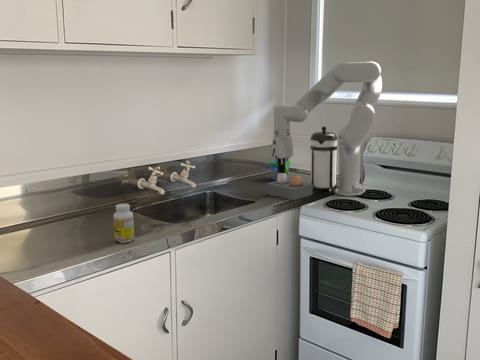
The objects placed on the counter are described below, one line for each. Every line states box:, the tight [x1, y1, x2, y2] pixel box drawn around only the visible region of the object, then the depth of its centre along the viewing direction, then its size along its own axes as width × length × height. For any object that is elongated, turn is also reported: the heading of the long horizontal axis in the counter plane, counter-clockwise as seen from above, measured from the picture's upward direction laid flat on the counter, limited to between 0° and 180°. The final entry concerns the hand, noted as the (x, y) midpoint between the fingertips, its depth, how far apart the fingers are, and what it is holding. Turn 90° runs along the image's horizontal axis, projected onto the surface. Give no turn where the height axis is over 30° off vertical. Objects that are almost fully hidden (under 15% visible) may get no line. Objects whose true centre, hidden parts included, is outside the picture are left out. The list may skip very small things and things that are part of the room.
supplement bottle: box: [112, 203, 135, 240], centre depth 186 cm, size 7×7×13 cm
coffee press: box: [309, 125, 339, 193], centre depth 258 cm, size 17×16×30 cm
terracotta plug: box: [290, 175, 302, 187], centre depth 245 cm, size 4×4×5 cm
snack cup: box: [269, 159, 292, 182], centre depth 280 cm, size 16×10×10 cm
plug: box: [277, 173, 288, 185], centre depth 251 cm, size 4×4×5 cm
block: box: [265, 179, 313, 201], centre depth 249 cm, size 17×13×5 cm
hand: (281, 172), depth 250 cm, fingers closed
